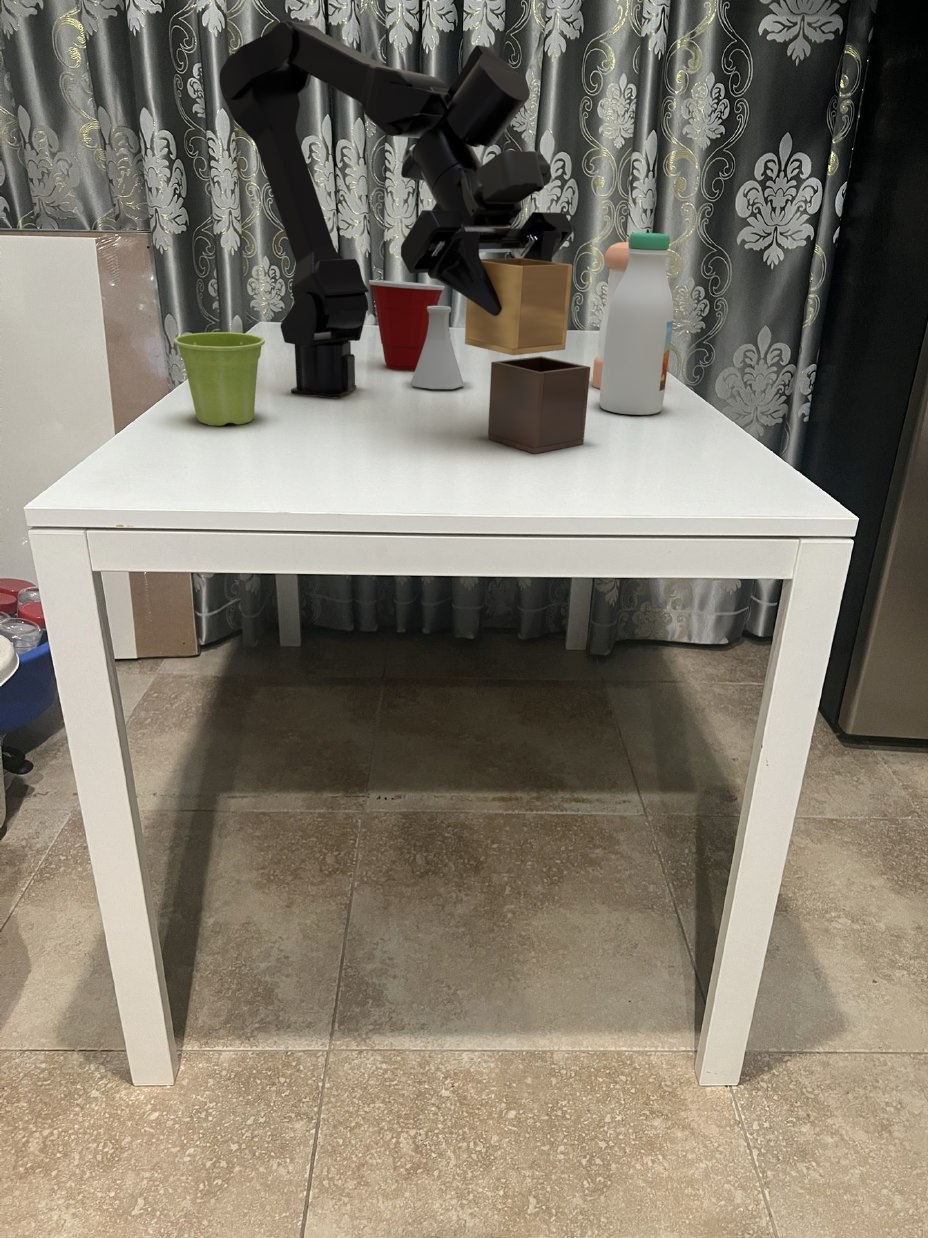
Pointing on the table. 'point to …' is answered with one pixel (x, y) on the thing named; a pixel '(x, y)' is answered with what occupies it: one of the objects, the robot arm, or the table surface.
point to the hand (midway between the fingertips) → (526, 310)
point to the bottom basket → (538, 403)
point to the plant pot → (221, 374)
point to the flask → (438, 354)
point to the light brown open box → (522, 307)
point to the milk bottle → (639, 331)
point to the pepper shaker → (610, 299)
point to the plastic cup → (403, 319)
